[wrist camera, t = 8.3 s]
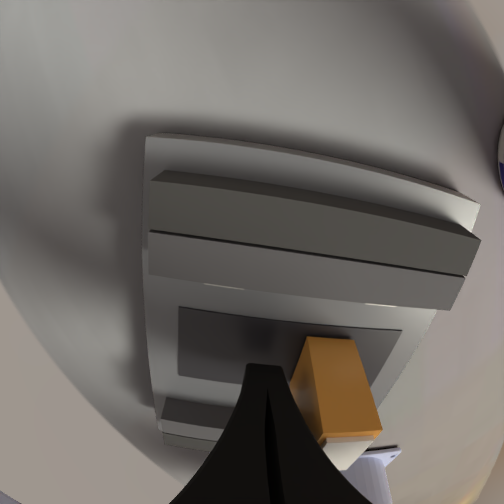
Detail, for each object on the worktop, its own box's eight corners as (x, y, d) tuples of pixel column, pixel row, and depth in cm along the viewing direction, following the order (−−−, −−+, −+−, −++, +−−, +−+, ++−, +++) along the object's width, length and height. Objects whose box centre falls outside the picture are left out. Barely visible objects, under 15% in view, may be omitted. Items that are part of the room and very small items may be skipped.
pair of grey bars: (345, 437, 16) (348, 456, 14) (169, 424, 15) (164, 444, 14) (460, 224, 9) (481, 240, 8) (164, 169, 9) (149, 180, 8)
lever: (331, 386, 13) (347, 472, 9) (289, 384, 13) (296, 475, 9) (354, 339, 12) (384, 434, 7) (307, 336, 11) (323, 438, 7)
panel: (345, 426, 17) (349, 445, 16) (163, 411, 17) (158, 430, 15) (460, 192, 10) (481, 205, 9) (160, 132, 10) (144, 136, 8)
